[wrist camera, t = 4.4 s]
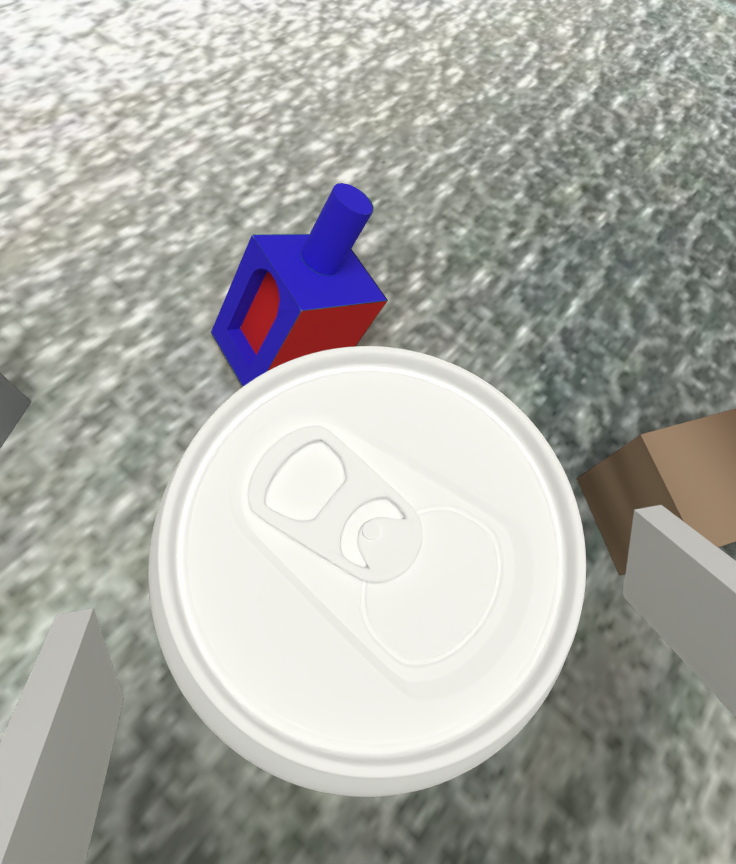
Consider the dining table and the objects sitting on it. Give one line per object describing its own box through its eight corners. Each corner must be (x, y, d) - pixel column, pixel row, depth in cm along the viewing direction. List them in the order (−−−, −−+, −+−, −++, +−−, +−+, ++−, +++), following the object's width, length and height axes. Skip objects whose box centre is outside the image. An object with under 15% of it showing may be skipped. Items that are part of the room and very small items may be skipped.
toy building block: (330, 381, 26) (427, 244, 20) (250, 400, 23) (337, 247, 17) (291, 321, 26) (374, 174, 21) (210, 332, 24) (280, 166, 18)
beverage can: (365, 783, 19) (443, 965, 7) (179, 624, 20) (8, 578, 9) (495, 580, 21) (692, 492, 10) (324, 452, 23) (336, 252, 12)
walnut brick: (617, 575, 22) (699, 553, 17) (575, 479, 23) (640, 434, 19) (787, 520, 23) (904, 486, 19) (738, 433, 25) (836, 381, 20)
